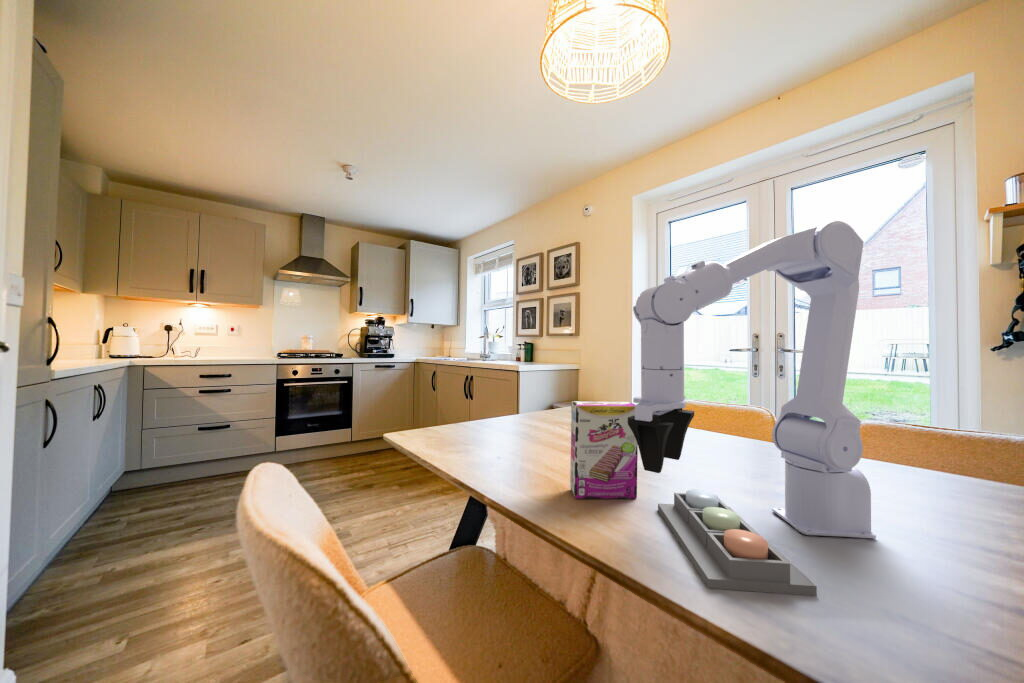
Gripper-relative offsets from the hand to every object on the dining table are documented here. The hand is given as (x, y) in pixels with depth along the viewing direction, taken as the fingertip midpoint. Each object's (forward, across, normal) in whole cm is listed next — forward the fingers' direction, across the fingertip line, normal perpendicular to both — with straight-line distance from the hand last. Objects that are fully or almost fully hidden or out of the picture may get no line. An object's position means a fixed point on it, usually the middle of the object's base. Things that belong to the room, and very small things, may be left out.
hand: (662, 464), depth 54 cm
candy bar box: (+10, -7, -13) cm, 18 cm away
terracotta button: (+8, +3, +11) cm, 13 cm away
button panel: (+10, -2, +7) cm, 12 cm away
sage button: (+8, -2, +7) cm, 11 cm away
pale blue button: (+8, -8, +3) cm, 11 cm away
